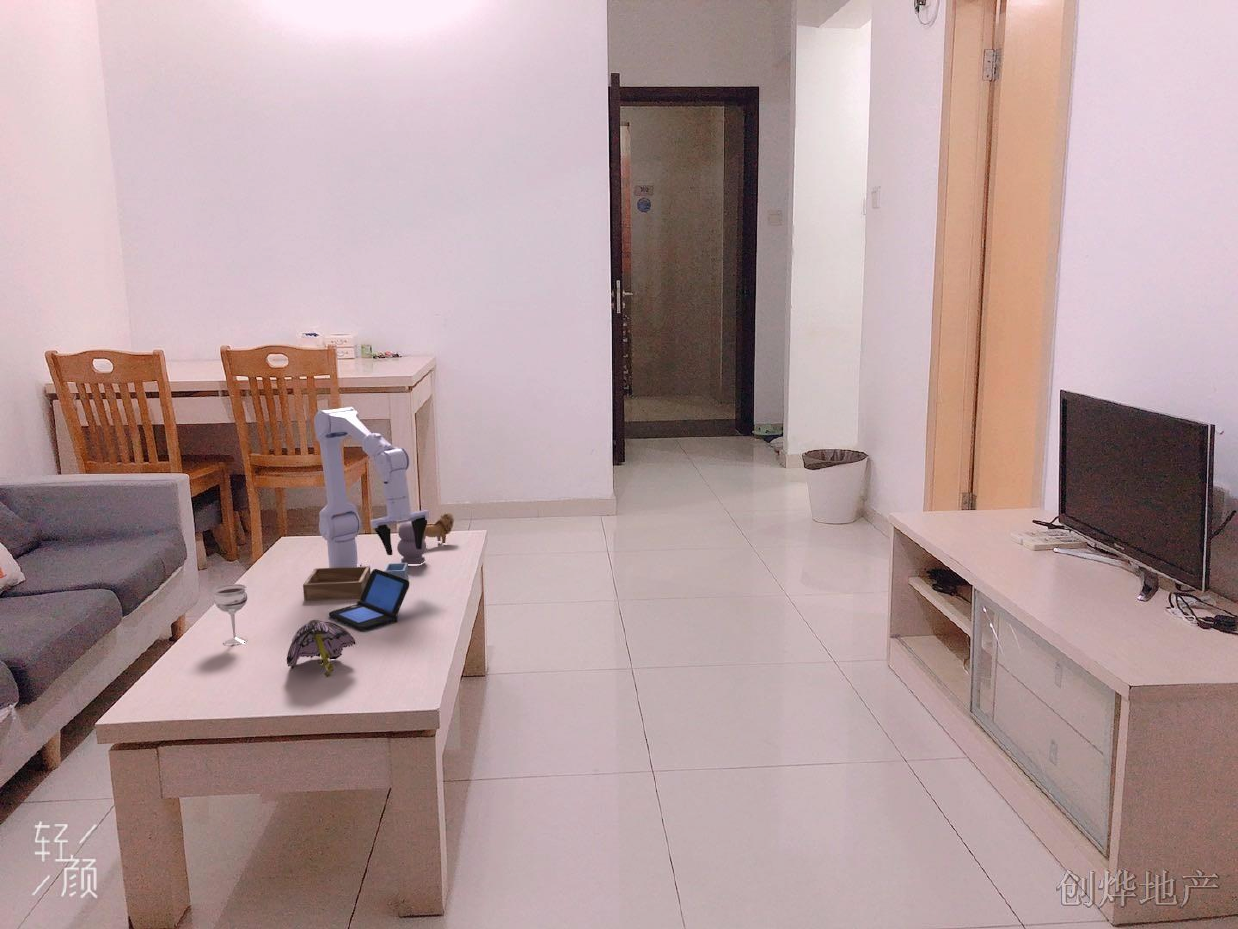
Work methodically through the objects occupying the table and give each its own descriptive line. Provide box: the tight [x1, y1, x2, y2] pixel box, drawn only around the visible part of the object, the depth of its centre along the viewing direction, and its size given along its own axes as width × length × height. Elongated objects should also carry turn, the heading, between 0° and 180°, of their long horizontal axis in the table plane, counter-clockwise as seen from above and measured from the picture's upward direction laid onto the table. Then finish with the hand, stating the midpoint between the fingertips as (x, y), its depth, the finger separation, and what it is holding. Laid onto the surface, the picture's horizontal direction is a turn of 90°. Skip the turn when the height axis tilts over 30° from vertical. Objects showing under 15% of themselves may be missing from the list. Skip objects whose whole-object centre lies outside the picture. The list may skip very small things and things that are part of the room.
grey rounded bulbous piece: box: [396, 521, 427, 564], centre depth 279 cm, size 8×8×12 cm
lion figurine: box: [423, 512, 455, 543], centre depth 296 cm, size 15×5×9 cm, turn 130°
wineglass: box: [213, 583, 248, 645], centre depth 221 cm, size 7×7×12 cm
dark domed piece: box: [286, 619, 357, 677], centre depth 205 cm, size 14×12×15 cm
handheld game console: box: [328, 568, 410, 632], centre depth 236 cm, size 16×13×9 cm
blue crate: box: [384, 562, 409, 581], centre depth 262 cm, size 7×5×4 cm
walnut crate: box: [302, 565, 372, 601], centre depth 257 cm, size 14×14×4 cm
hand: (404, 551), depth 253 cm, fingers open, 7 cm apart
